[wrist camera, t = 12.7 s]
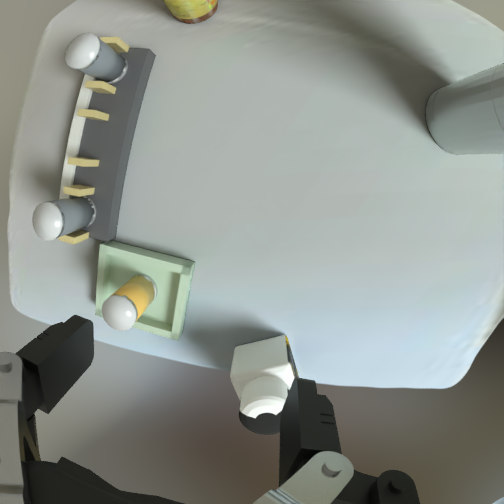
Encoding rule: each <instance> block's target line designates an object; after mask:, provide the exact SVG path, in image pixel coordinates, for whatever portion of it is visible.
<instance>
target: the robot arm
mask: <svg viewBox="0 0 504 504" xmlns="http://www.w3.org/2000/svg"><path fill="white" fill-rule="evenodd" d="M426 122H427V125H428V129H429V131H430V133H431V135H432V137H433V138H434V140H435V141H436V143H437V144H438V145H439V146H440V147H441V148H443V149H444V150H445V151H447V152H449V153H451V154H456V155H465V154H504V63H503V64H501V65H498V66H495V67H493V68H490V69H487V70H485V71H482V72H480V73H477V74H474V75H472V76H469V77H467V78H464V79H462V80H459V81H457V82H455V83H452V84H450V85H447V86H445V87H443V88H440V89H438V90H436V91H435V92H434V93H433V94H432V95H431V96H430V98H429V99H428V102H427V105H426ZM93 357H94V337H93V322H92V321H91V320H88V319H85V318H83V317H80V316H77V315H74V316H72V317H71V318H70V319H68V320H67V321H66V322H64V323H63V322H60V323H57V324H54V325H52V326H50V327H49V328H47V329H46V330H45V331H43V333H41V334H40V335H38V336H37V338H34V339H33V340H32V341H31V342H29V343H28V344H27V345H26V346H24V347H23V348H22V349H21V350H20V351H18V352H17V353H16V354H14V353H11V352H0V504H184V503H180V502H176V501H173V500H169V499H165V498H162V497H159V496H153V495H145V494H138V493H130V492H125V491H121V490H118V489H116V488H115V487H113V486H112V485H110V484H109V483H107V482H106V481H104V480H103V479H102V478H100V477H99V476H98V475H96V474H95V473H93V472H92V471H91V470H89V469H86V468H84V467H82V466H80V465H78V464H76V463H74V462H72V461H70V460H68V459H66V458H64V457H61V458H60V460H59V461H58V463H53V462H47V461H41V458H40V453H39V445H38V437H37V428H36V417H35V411H36V410H37V409H40V410H42V411H43V412H45V413H47V414H49V413H50V411H51V410H52V409H53V408H54V407H55V405H56V404H57V403H58V402H59V401H60V399H61V398H62V397H63V396H64V395H65V394H66V393H67V391H68V390H69V389H70V388H71V387H72V386H73V385H74V383H75V382H76V381H77V380H78V379H79V378H80V377H81V376H82V374H83V373H84V372H85V371H86V370H87V369H88V367H89V366H90V365H91V363H92V360H93ZM279 454H280V455H279V488H278V489H277V490H274V489H272V490H270V491H269V492H267V493H266V494H264V495H263V496H262V497H261V498H259V499H258V500H257V501H255V502H254V503H253V504H420V502H419V498H418V494H417V490H416V486H415V483H414V481H413V480H412V479H411V477H410V476H408V475H407V474H406V473H404V472H401V471H398V470H388V471H385V472H383V473H382V474H381V475H380V476H379V477H374V476H370V475H367V474H363V473H360V472H357V471H355V470H354V469H353V465H352V464H351V462H350V461H349V460H348V459H347V458H346V457H345V456H343V455H342V453H341V447H340V442H339V437H338V431H337V427H336V421H335V417H334V410H333V405H332V404H331V402H330V401H329V399H328V398H327V397H326V395H319V394H317V389H316V383H315V381H314V380H308V379H302V378H297V377H295V378H294V380H293V382H292V385H291V388H290V390H289V393H288V395H287V398H286V401H285V403H284V406H283V409H282V412H281V417H280V453H279Z"/></svg>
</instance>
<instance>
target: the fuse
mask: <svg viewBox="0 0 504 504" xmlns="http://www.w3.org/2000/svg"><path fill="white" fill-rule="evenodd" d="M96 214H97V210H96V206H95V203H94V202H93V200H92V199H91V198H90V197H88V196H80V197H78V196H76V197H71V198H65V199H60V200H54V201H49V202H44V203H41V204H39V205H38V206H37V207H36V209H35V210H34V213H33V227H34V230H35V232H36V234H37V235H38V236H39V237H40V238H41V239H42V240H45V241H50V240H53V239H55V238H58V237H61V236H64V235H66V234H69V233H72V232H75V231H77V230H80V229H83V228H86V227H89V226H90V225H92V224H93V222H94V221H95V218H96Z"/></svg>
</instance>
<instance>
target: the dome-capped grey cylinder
mask: <svg viewBox="0 0 504 504" xmlns="http://www.w3.org/2000/svg"><path fill="white" fill-rule="evenodd" d="M65 60H66V63H67V64H68V66H70V67H72V68H74V69H76V70H78V71H81V72H83V73H85V74H87V75H89V76H91V77H93V78H95V79H97V80H99V81H104V82H106V83H108V84H115V83H117V82H119V81H120V80H121V79H122V78H123V77H124V76H125V74H126V73H127V70H128V61H127V59H126V58H125V57H124V56H122V55H121V54H120V53H118V52H117V51H116V50H114V49H113V48H112V47H110V46H109V45H107V44H106V43H105V42H103V41H102V40H101V39H99V38H98V37H96V36H95V35H93V34H91V33H84V34H81V35H79V36H78V37H76V38H75V39H74V40H73V41H72V42H71V43H70V45H69V46H68V48H67V51H66V54H65Z"/></svg>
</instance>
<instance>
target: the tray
mask: <svg viewBox="0 0 504 504" xmlns="http://www.w3.org/2000/svg"><path fill="white" fill-rule="evenodd" d="M194 265H195V262H193V261H189V260H185V259H181V258H177V257H173V256H170V255H166V254H162V253H158V252H154V251H150V250H146V249H142V248H138V247H135V246H131V245H127V244H123V243H119V242H116V241H112V240H110V241H108V242H106V241H105V242H103V243H101V244H100V248H99V259H98V272H97V287H96V310H95V315H97V316H100V317H103V315H102V305H103V303H104V301H105V300H106V299H107V298H108V297H110V296H111V295H112V294H113V293H114V292H115V291H117V290H118V289H119V288H120V287H121V286H123V285H124V284H125V283H126V282H127V281H129V280H130V279H131V278H132V277H133V276H135V275H137V274H145V275H147V276H149V277H151V278H152V279H153V280H154V282H155V283H156V286H157V296H156V298H155V299H154V300H153V302H152V303H151V304H150V305H149V306H148V308H147V309H146V310H145V311H144V312H143V314H142V315H141V316H140V317H139V318H138V320H137V321H136V322H135V323H134V324H133V326H132V327H134V328H137V329H140V330H143V331H147V332H150V333H153V334H157V335H160V336H164V337H167V338H171V339H174V340H179V338H180V336H181V334H182V332H183V327H184V321H185V315H186V309H187V303H188V298H189V292H190V287H191V281H192V276H193V270H194Z"/></svg>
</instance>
